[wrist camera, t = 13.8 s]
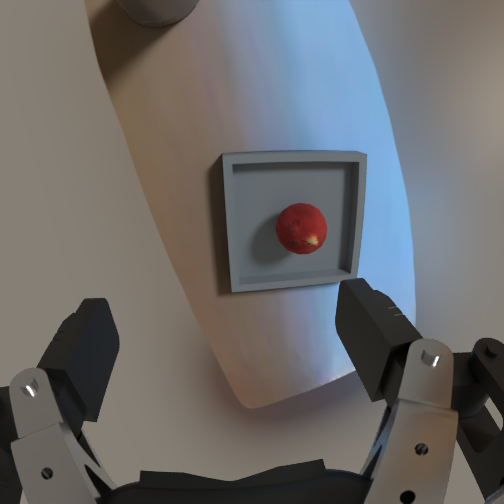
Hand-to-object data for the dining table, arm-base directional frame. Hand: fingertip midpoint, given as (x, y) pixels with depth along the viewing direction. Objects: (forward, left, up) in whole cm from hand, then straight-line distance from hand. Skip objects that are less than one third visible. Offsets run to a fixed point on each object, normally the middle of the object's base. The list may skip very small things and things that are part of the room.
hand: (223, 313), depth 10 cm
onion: (+6, +9, -27) cm, 29 cm away
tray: (+6, +9, -28) cm, 30 cm away
